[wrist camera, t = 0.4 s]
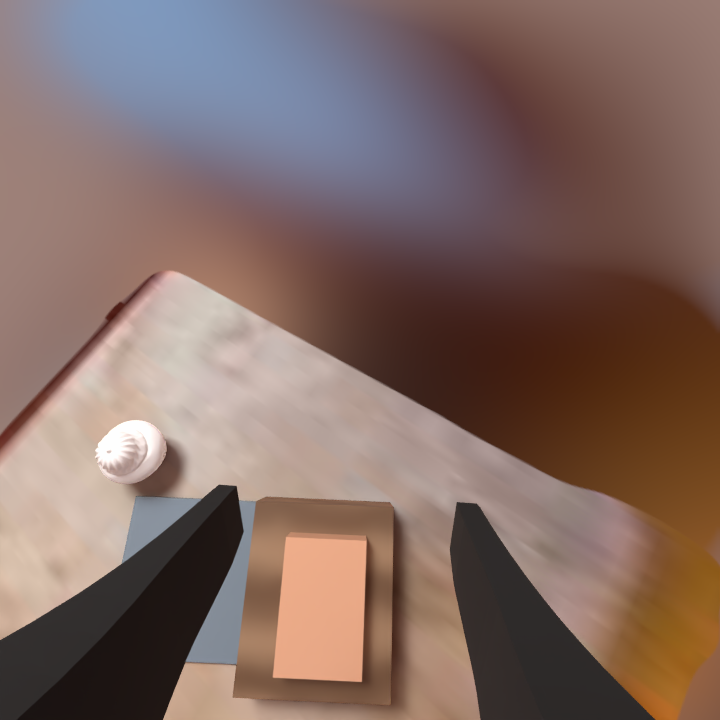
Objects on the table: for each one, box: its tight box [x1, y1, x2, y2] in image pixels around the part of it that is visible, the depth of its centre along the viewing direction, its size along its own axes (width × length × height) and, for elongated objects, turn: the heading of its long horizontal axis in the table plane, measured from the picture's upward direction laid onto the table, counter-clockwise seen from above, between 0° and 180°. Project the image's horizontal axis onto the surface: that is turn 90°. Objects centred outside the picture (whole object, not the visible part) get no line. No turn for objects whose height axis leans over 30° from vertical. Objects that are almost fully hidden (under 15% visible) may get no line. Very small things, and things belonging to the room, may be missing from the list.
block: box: [273, 532, 367, 682], centre depth 29 cm, size 10×7×2 cm
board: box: [233, 497, 394, 705], centre depth 32 cm, size 15×13×4 cm
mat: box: [122, 496, 256, 664], centre depth 34 cm, size 14×13×1 cm
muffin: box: [95, 420, 167, 484], centre depth 34 cm, size 6×6×7 cm
